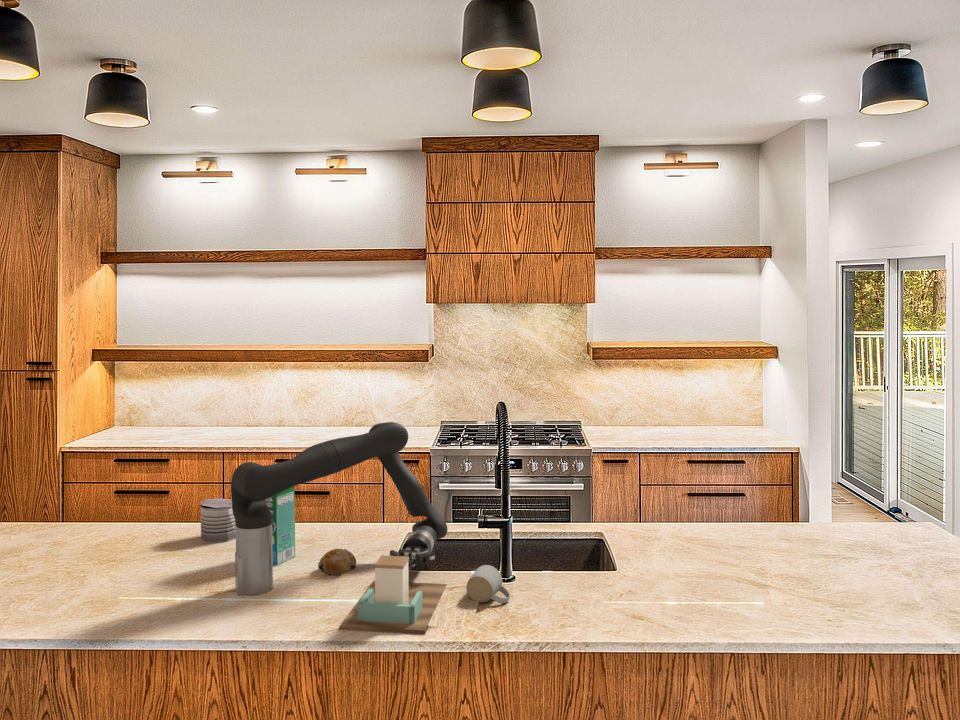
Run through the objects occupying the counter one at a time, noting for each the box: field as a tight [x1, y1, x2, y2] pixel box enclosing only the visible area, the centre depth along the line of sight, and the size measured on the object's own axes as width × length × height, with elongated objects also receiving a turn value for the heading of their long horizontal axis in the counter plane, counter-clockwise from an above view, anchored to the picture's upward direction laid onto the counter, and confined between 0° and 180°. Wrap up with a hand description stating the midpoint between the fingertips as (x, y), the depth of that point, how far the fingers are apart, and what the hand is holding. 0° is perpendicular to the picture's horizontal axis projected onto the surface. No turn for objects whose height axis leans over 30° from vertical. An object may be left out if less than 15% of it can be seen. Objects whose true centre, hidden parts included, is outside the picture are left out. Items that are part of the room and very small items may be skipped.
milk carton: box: [266, 486, 296, 566], centre depth 224 cm, size 9×9×25 cm
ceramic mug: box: [465, 564, 511, 604], centre depth 194 cm, size 11×8×8 cm
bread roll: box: [317, 548, 357, 576], centre depth 216 cm, size 10×10×8 cm
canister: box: [374, 555, 409, 605], centre depth 183 cm, size 7×7×13 cm
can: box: [199, 498, 236, 544], centre depth 246 cm, size 11×11×12 cm
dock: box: [357, 588, 423, 624], centre depth 182 cm, size 10×13×4 cm
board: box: [339, 580, 447, 635], centre depth 189 cm, size 30×20×1 cm, turn 173°
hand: (405, 566), depth 198 cm, fingers closed
